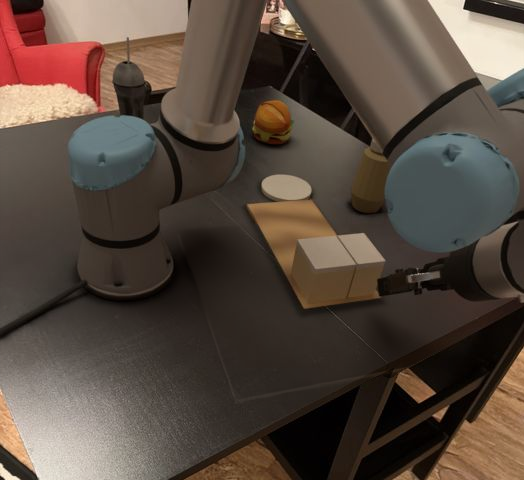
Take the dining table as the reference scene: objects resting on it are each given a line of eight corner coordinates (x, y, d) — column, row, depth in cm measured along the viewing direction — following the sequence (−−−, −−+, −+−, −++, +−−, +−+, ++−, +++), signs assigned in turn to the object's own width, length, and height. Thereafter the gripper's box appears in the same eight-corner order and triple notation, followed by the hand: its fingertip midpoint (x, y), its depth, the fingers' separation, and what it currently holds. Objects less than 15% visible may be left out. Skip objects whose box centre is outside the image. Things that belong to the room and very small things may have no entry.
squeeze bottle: (355, 218, 100) (379, 130, 87) (340, 198, 105) (361, 112, 92) (389, 216, 102) (418, 130, 89) (373, 196, 107) (398, 113, 94)
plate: (288, 209, 99) (289, 205, 99) (250, 187, 104) (251, 183, 103) (320, 193, 105) (321, 189, 105) (283, 173, 110) (284, 169, 109)
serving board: (380, 302, 82) (381, 297, 81) (302, 313, 78) (304, 308, 77) (310, 203, 102) (311, 199, 101) (246, 208, 98) (246, 203, 97)
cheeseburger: (292, 131, 127) (298, 95, 118) (288, 158, 121) (294, 122, 113) (254, 125, 126) (257, 89, 118) (248, 151, 121) (251, 115, 112)
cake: (346, 298, 80) (356, 264, 75) (307, 303, 78) (315, 269, 73) (327, 269, 85) (335, 235, 80) (290, 273, 83) (297, 239, 78)
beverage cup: (112, 135, 114) (100, 39, 100) (127, 124, 119) (117, 31, 105) (140, 142, 113) (132, 46, 99) (154, 131, 118) (148, 38, 104)
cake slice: (373, 294, 81) (385, 260, 76) (347, 298, 80) (358, 264, 75) (353, 266, 86) (363, 232, 81) (328, 269, 85) (337, 235, 80)
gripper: (451, 306, 50) (347, 317, 72) (548, 291, 53) (421, 306, 76) (442, 234, 49) (341, 267, 72) (541, 224, 53) (415, 258, 75)
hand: (382, 287), depth 74 cm, fingers closed
